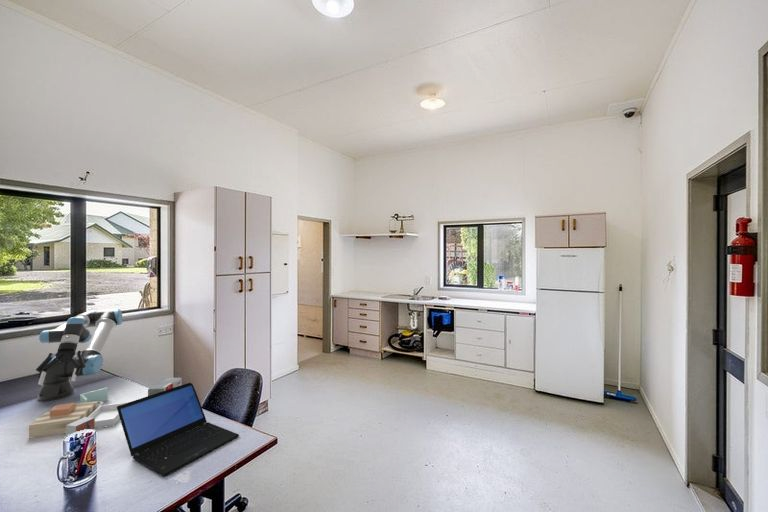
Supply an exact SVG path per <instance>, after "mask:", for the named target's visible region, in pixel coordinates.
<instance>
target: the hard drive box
mask: <svg viewBox="0 0 768 512" xmlns="http://www.w3.org/2000/svg"><path fill="white" fill-rule="evenodd" d="M182 381H183V379H182V377H167V378H166V379H164V380H161V381H160V382H157V383H156V384H155V385H153V386H151V387H149V388H148V389H147V396H150V395H153V394H156V393H159V392H162V391H165V390H168V389H171V388H174V387H178V386H181V385H183V384H182Z"/></svg>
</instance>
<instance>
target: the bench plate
mask: <svg viewBox="0 0 768 512" xmlns="http://www.w3.org/2000/svg"><path fill="white" fill-rule="evenodd" d="M56 406H57V405H56ZM56 406H53V407H52V408H50V409H49V410H48V411H46V412H44V414H42V415H41V416H40V417H38V418H36V419H35V420H34V421H32V422H31V423H30V424H28V439H31V438H30V437H34V438H39V436H41V437H46V436H54V435H60V434H66V433H65V432H66V425H68V424H70V423H73V422H75V421H77V420H80V419H82V418H84V417H88V416H89V415H90V414H91V413H92V412H94V411H95V410H96V409H97V408H98V401H96V402H88V403H80V402H79V403H76V409H75V410H73V411H72V412H71V413H70V414H69V415H62V416H54V417H50V410H52V409H53V408H55V407H56Z"/></svg>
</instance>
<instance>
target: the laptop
mask: <svg viewBox="0 0 768 512" xmlns="http://www.w3.org/2000/svg"><path fill="white" fill-rule="evenodd" d="M128 402H129V403H126V404H123V405H119V406H117V410H118V413H119V417H120V419H119V421H120V423H121V427H122V430H123V433H124V437H125V440H126V443H127V446H128V450H129V452H130V456H131V457H132V459H133V460H135V461H137V462H138V463H140V464H141V465H142V466H145V467H146V468H148V469H150V470H152V471H153V472H155V473H157V474H159V475H161V476H163V477H166V476H168V475H170V474H172V473H174V472H176V471H177V470H179V469H180V468H182V467H184V466H186V465H188V464H189V463H192V462H194V461H195V460H197V459H199V458H201V457H202V456H205V455H207V454H208V453H210V452H212V451H214V450H216V449H218V448H220V447H222V446H224V445H225V444H227V443H229V442H231V441H232V440H235V439H236V438H238V437H239V433H236V432H233V431H231V430H228V429H226V428H223V427H221V426H219V425H216V424H214V423H211V422H209V421H207V418H206V415H205V413H204V410H203V407H202V405H201V402H200V399H199V396H198V394H197V391H196V390H195V387H194V385H193V383H192V382H187V383H184V384H182V385H181V386H178V387H174V388H171V389H168V390H165V391H162V392H159V393H156V394H153V395H150V396H148V395H147V396H144V397H142V398H138V399H135V400H132V401H128Z"/></svg>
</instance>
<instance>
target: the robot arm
mask: <svg viewBox="0 0 768 512" xmlns="http://www.w3.org/2000/svg"><path fill="white" fill-rule="evenodd" d="M122 324H123V312H122V310H121V309H119V308H108V309H107V308H106V309H105V308H104V309H102V308H101V309H91V310H87V311H84V312H82V313H79V314H77V315H76V316H73V317H69V318H68V319H67V320H66V322H65V323H63V324H61V325H59V326H57V327H55V328H53V329H46V330H42V331H41V332H40V333H39V337H38V339H39V342H40V343H41V344H53V343H55V344H56V343H59V345H58V348H57V352H56V353H52V352H50V353H48V356H47V357H46V358H45V359H44V360H43V361H42V362H41V364H40V365H38V366H37V367H36V369H35V371H36V372H39V373H38V377H37V378H38V383H37V385H39V386H41V388H40V390H39V393H38V394H37V400H38V401H41V402H47V401H48V402H49V401H54V400H59V399H63V398H66V397H69V396H70V395H73V394H74V392H75V391H74V386H73V385H72V383H75V382H76V380H77V377H82V376H83V377H84V376H87V377H88V376H92V375H96V374H97V373H99V372H100V370H101V369H102V366H103V363H104V357H103V355H102V351H103V348H104V346H105V345H106V342H107V341H108V337H110V334H111V332H112V331H113V330H114V329H116V328H117V326H120V325H122ZM88 327H90V328H92V327H95V329H94V331H93V333H92V334H91V331H90V330H89V329H87V328H88ZM79 343H80V344H84V343H87V344H86V346H85V348H84V349H83V350H78V351H76V350H77V348H78V344H79Z"/></svg>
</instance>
